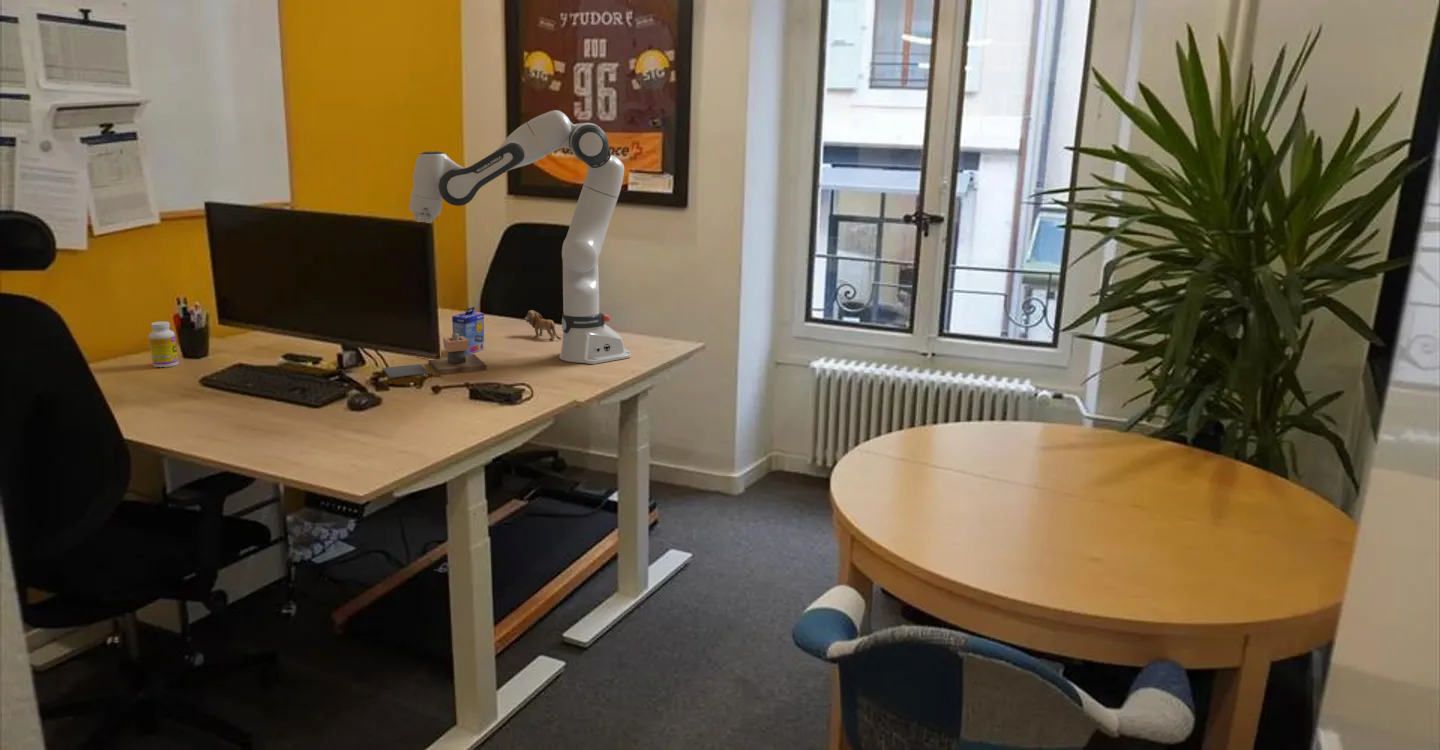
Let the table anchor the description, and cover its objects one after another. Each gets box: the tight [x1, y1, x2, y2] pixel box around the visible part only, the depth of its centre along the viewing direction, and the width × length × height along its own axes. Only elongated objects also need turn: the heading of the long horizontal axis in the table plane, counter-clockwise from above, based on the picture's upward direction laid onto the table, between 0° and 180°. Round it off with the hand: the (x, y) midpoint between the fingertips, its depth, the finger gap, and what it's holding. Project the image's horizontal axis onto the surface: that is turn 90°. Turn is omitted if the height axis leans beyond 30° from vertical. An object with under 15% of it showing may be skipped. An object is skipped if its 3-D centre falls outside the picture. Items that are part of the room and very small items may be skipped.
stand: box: [427, 333, 487, 376], centre depth 287 cm, size 14×14×10 cm
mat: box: [382, 363, 430, 379], centre depth 281 cm, size 11×11×1 cm
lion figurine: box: [524, 309, 562, 342], centre depth 325 cm, size 15×5×9 cm, turn 59°
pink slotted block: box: [442, 336, 469, 352], centre depth 286 cm, size 6×6×3 cm
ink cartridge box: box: [451, 306, 485, 355], centre depth 304 cm, size 10×6×14 cm, turn 157°
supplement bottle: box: [148, 320, 179, 369], centre depth 281 cm, size 7×7×13 cm
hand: (419, 253), depth 282 cm, fingers open, 8 cm apart
